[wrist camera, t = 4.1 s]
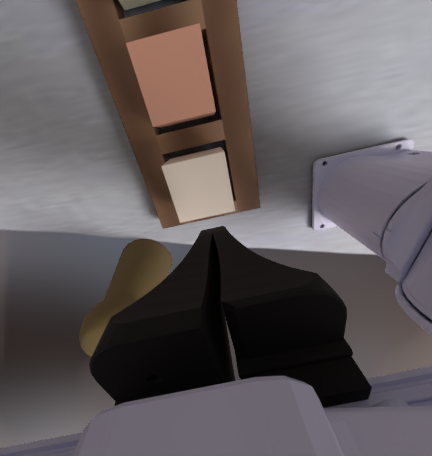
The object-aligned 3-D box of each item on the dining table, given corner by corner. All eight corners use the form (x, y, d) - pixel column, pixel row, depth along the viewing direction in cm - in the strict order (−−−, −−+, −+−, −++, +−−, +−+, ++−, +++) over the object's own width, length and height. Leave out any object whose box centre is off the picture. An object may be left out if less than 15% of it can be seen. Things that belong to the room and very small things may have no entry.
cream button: (220, 146, 17) (224, 151, 13) (229, 195, 19) (235, 211, 15) (170, 158, 17) (161, 166, 14) (184, 205, 19) (180, 222, 16)
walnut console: (210, -159, 11) (211, -215, 9) (255, 200, 21) (260, 207, 19) (46, -107, 12) (18, -150, 10) (166, 220, 21) (163, 228, 20)
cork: (113, 267, 24) (51, 362, 14) (134, 230, 22) (80, 310, 12) (157, 286, 26) (131, 382, 16) (181, 254, 24) (168, 340, 14)
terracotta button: (201, 48, 15) (199, 22, 11) (213, 115, 17) (215, 111, 13) (144, 63, 15) (125, 43, 11) (163, 127, 17) (152, 126, 14)
